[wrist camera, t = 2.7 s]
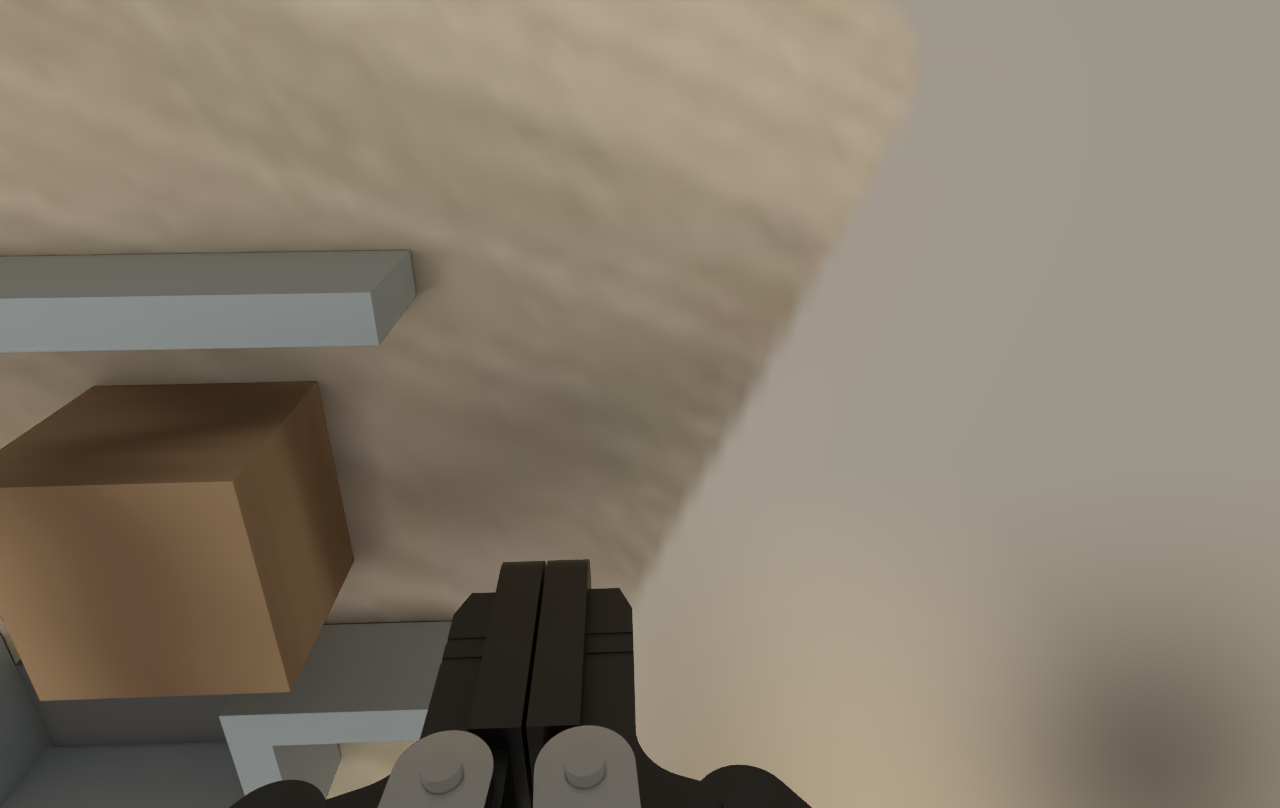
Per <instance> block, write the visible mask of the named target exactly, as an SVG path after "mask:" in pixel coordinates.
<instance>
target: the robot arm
mask: <svg viewBox="0 0 1280 808" xmlns="http://www.w3.org/2000/svg"><path fill="white" fill-rule="evenodd" d="M632 625H633V624H632V607H631V606H630V604H629V603H628V601H627V600H626V598H625V596H624V595H623V593H622V592H621V590H620V588H608V589H591V572H590V561H589V559H585V560H555V561H548V562H547V566H546V562H545V561H530V562H504V563H503V564H502V566H501V570H500V575H499V580H498V584H497V589H496V592H495V593H472V594H471V595H470V596H469V597H468V599H467V600H466V601H465V602H464V603H463V604H462V606H461V607H460V608H459V609H458V610H457V612H456V613H455V614H454V616H453V620H452V624H451V627H450V631H449V635H448V638H447V639H448V642H447V643H446V646H445V649H444V653H443V656H442V663H441V664H440V667H439V671H438V675H437V678H436V682H435V686H434V689H433V693H432V697H431V700H430V704H429V708H428V711H427V715H426V718H425V722H424V726H423V729H422V733H421V736H420V739H419V741H417V742H416V743H414V744H413V745H411V746H410V747H409V748H408V749H407V750H406V751H405V752H404V753H403V754H402V755H401V756H400V757H399V759H398V760H397V762H396V763H395V765H394V767H393V769H392V772H391V774H390V775H388V776H387V777H385V778H384V779H382V780H380V781H378V782H376V783H374V784H372V785H369V786H366V787H364V788H361V789H357V790H354V791H351V792H348V793H345V794H342V795H339V796H336V797H333V798H330V799H327V800H325V797H324V795H323V793H322V792H321V791H320V790H319V789H318V788H317V787H316V786H314V785H313V784H311V783H308V782H306V781H301V780H282V781H277V782H273V783H269V784H267V785H264V786H262V787H259V788H257V789H256V790H254V791H252V792H250V793H248V794H247V795H246V796H244V797H243V798H241V799H240V800H238V801H237V802H236V803H234V804H233V805H232V806H231V807H229V808H811V807H810V806H809V805H808V804H807V803H806V802H805V801H804V800H802V799H801V798H800V797H799V796H798V795H797V794H795V793H794V792H793V791H792V790H791V789H790V788H789V787H788V786H786V785H785V784H784V783H783V782H782V781H780V780H779V779H778V778H777V777H775V776H774V775H772V774H771V773H769V772H767V771H765V770H763V769H760V768H757V767H753V766H748V765H730V766H726V767H722V768H720V769H717V770H715V771H713V772H712V773H710V774H708V775H707V776H706V777H705V778H704V779H702V780H701V781H698V780H695V779H691V778H687V777H684V776H680V775H677V774H674V773H671V772H669V771H667V770H664V769H663V768H661V767H659V766H658V765H657V764H655V763H654V762H653V761H652V760H651V759H650V758H649V757H647V755H646V754H645V753H644V751H643V750H642V748H641V746H640V745H639V743H638V740H637V736H636V726H635V690H634V657H633V656H634V655H633V626H632Z"/></svg>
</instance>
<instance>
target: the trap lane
mask: <svg viewBox="0 0 1280 808" xmlns="http://www.w3.org/2000/svg"><path fill="white" fill-rule="evenodd" d="M415 297H416V290H415V283H414V276H413V268H412V261H411V253H410V250H389V251H324V252H259V253H195V254H130V255H65V256H0V353H6V352H59V351H112V350H166V349H219V348H272V347H325V346H379V345H380V343H381V342H382V341H383V339H384V338H385V337H386V335H387V334H388V333H389V331H390V330H391V329H392V327H393V326H394V325H395V323H396V322H397V321H398V319H399V318H400V317H401V315H402V314H403V313H404V311H405V310H406V309H407V307H408V306H409V305H410V303H411V302H412V301H413V299H414V298H415ZM451 624H452V621H443V622H408V623H373V624H338V625H323V626H322V628H321V630H320V632H319V634H318V636H317V638H316V640H315V642H314V644H313V647H312V649H311V651H310V653H309V655H308V657H307V659H306V661H305V663H304V665H303V667H302V669H301V671H300V673H299V675H298V677H297V679H296V682H295V684H294V686H293V688H292V690H291V692H279V693H250V694H222V695H193V696H165V697H136V698H108V699H79V700H51V701H40V699H39V697H38V695H37V693H36V691H35V689H34V686H33V684H32V682H31V680H30V678H29V676H28V673H27V671H26V669H25V667H24V665H23V663H22V661H21V660H20V661H19V662H18V663H17V664H16V665H14V663H13V661H12V658H11V656H10V654H9V652H8V650H7V648H6V645H5V643H4V641H3V639H2V637H1V635H0V808H229V807H231V806H232V805H233V804H234V803H236V802H237V801H238V800H240V799H241V798H243V797H244V796H246V795H247V794H248V793H250V792H252V791H254V790H256V789H257V788H259V787H262V786H264V785H267V784H269V783H273V782H277V781H282V780H301V781H306V782H308V783H311V784H313V785H314V786H316V787H317V788H318V789H319V790H320V791H321V792H322V793H323V795H324V797H325V800H326V798H327V795H328V793H329V790H330V787H331V785H332V782H333V779H334V777H335V774H336V771H337V769H338V766H339V763H340V760H341V756H340V752H339V748H338V744H340V743H370V742H401V741H419V739H420V736H421V733H422V729H423V726H424V722H425V718H426V715H427V711H428V708H429V704H430V700H431V697H432V693H433V689H434V686H435V682H436V678H437V675H438V671H439V667H440V664H441V663H442V656H443V653H444V649H445V646H446V643H447V642H448V639H447V638H448V635H449V631H450V627H451Z"/></svg>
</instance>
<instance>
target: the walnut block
mask: <svg viewBox="0 0 1280 808" xmlns="http://www.w3.org/2000/svg"><path fill="white" fill-rule="evenodd" d="M353 562H354V558H353V553H352V548H351V543H350V538H349V533H348V528H347V524H346V519H345V514H344V509H343V504H342V499H341V494H340V490H339V485H338V480H337V475H336V470H335V465H334V460H333V456H332V451H331V446H330V441H329V436H328V431H327V426H326V422H325V417H324V412H323V407H322V402H321V397H320V393H319V388H318V383H317V381H300V382H256V383H213V384H169V385H126V386H93V387H92V388H90V389H89V390H87V391H86V392H84V393H83V394H81V395H80V396H78V397H77V398H76V399H74V400H73V401H71V402H70V403H68V404H67V405H65V406H64V407H62V408H61V409H59V410H58V411H56V412H55V413H53V414H52V415H51V416H49V417H48V418H46V419H45V420H43V421H42V422H40V423H39V424H37V425H36V426H34V427H33V428H31V429H30V430H29V431H27V432H26V433H24V434H23V435H21V436H20V437H18V438H17V439H15V440H14V441H12V442H11V443H9V444H8V445H6V446H5V447H4V448H2V449H1V450H0V615H1V617H2V620H3V622H4V624H5V626H6V628H7V630H8V632H9V635H10V637H11V639H12V641H13V643H14V645H15V648H16V650H17V652H18V654H19V656H20V658H21V661H22V663H23V665H24V667H25V669H26V671H27V673H28V676H29V678H30V680H31V682H32V684H33V686H34V689H35V691H36V693H37V695H38V697H39V699H40V701H51V700H79V699H108V698H136V697H165V696H193V695H222V694H250V693H279V692H291V690H292V688H293V686H294V684H295V682H296V679H297V677H298V675H299V673H300V671H301V669H302V667H303V665H304V663H305V661H306V659H307V657H308V655H309V653H310V651H311V649H312V647H313V644H314V642H315V640H316V638H317V636H318V634H319V632H320V630H321V628H322V626H323V624H324V622H325V620H326V618H327V616H328V614H329V611H330V609H331V607H332V605H333V603H334V601H335V599H336V597H337V595H338V593H339V591H340V589H341V587H342V585H343V583H344V581H345V578H346V576H347V574H348V572H349V570H350V568H351V566H352V564H353Z"/></svg>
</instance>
